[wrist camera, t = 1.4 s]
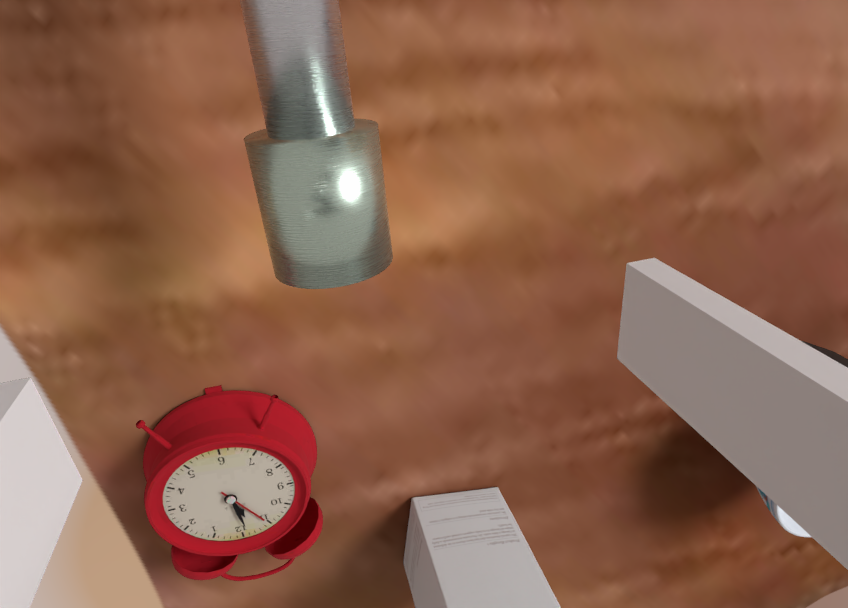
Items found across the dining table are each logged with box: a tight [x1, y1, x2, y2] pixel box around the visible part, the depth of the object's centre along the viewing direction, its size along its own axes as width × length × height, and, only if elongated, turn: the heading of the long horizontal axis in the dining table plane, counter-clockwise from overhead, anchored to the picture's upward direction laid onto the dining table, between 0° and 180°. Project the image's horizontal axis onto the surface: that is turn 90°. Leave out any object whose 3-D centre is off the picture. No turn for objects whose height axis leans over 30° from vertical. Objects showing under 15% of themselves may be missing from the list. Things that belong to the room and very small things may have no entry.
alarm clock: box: [136, 385, 323, 581], centre depth 34 cm, size 10×6×15 cm
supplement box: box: [403, 487, 561, 608], centre depth 37 cm, size 7×7×13 cm
